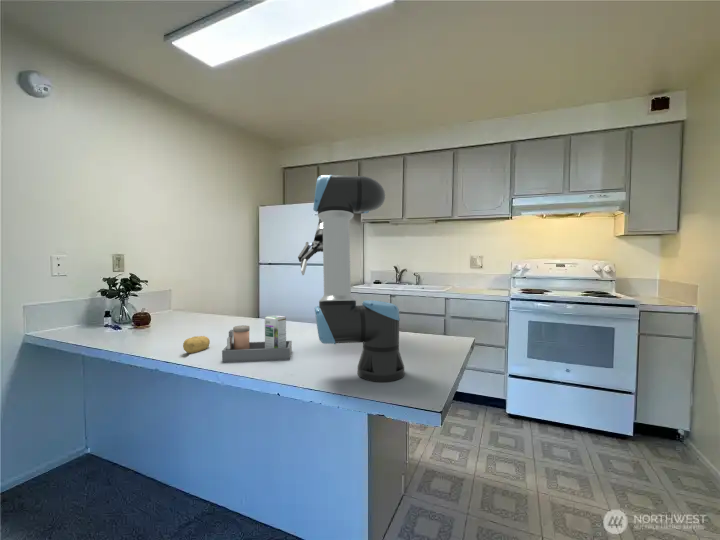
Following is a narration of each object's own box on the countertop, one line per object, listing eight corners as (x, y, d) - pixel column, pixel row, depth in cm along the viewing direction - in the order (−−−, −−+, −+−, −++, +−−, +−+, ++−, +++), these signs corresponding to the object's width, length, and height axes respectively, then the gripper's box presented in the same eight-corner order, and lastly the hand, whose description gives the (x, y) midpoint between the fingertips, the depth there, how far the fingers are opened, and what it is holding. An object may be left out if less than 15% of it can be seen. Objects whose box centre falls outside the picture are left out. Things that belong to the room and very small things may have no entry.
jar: (248, 358, 121) (247, 328, 121) (232, 359, 121) (231, 329, 120) (251, 354, 127) (250, 325, 126) (235, 354, 126) (235, 325, 126)
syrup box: (264, 356, 124) (263, 317, 123) (275, 352, 129) (274, 314, 129) (276, 358, 122) (275, 318, 121) (287, 354, 127) (286, 315, 126)
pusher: (235, 352, 127) (235, 328, 127) (230, 359, 119) (229, 333, 119) (232, 353, 127) (232, 328, 127) (227, 359, 119) (226, 333, 119)
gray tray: (291, 353, 131) (291, 340, 131) (289, 362, 121) (289, 348, 121) (229, 355, 128) (229, 342, 128) (222, 365, 118) (222, 350, 118)
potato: (178, 355, 129) (177, 338, 129) (202, 347, 140) (202, 332, 139) (190, 357, 127) (190, 340, 126) (214, 349, 137) (214, 334, 136)
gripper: (349, 241, 152) (343, 279, 137) (301, 241, 155) (290, 278, 140) (347, 228, 146) (341, 266, 132) (297, 229, 149) (285, 266, 134)
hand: (314, 272), depth 136 cm, fingers open, 10 cm apart
